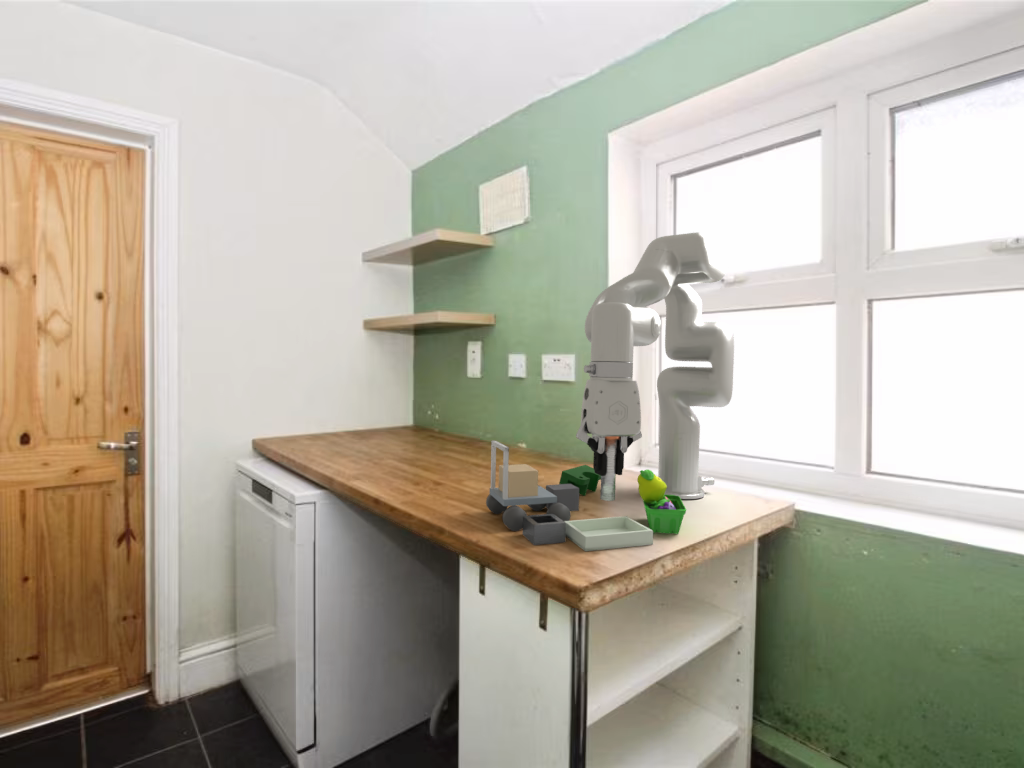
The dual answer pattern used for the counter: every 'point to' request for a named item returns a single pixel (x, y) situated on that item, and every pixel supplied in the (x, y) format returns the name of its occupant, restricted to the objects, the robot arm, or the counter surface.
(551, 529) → the bracket
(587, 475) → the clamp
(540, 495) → the trolley
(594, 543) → the tray
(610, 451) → the pin
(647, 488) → the fruit basket
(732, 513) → the counter surface
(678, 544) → the counter surface
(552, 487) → the grey rectangular block
